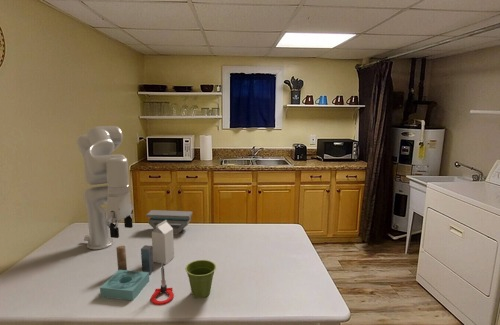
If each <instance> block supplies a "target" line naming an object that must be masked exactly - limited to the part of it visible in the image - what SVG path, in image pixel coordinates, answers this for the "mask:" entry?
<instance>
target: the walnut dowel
mask: <svg viewBox="0 0 500 325" xmlns="http://www.w3.org/2000/svg"><path fill="white" fill-rule="evenodd" d="M115 250H116V260H117V262H116V263H117V271H118V270H128V268H127V253H126V252H127V251H126V246H125V245H119V246H117V247H116V248H115Z"/></svg>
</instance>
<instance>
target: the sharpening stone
mask: <svg viewBox="0 0 500 325" xmlns="http://www.w3.org/2000/svg"><path fill="white" fill-rule="evenodd" d="M192 216H193V211H191V210H190V211H189V210H188V211H185V210H183V211H182V210H161V209H160V210H159V209H158V210H157V209H156V210H155V209H151V210H150V211H149V212H148V213H146V218H149V219H148V224H149V226H150V227H152V228H153V230H155V229H156V226H157V225H158V224H160V223H162V222H163V221H165V220H167V223H168V224H169V225H170V226H171V227H172V228H173V234H176V235H177V234H180V233H181V232H182V230H183V229H186V227H187V226H188V225H189V223H190V222H191V220H192Z"/></svg>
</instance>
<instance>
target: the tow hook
mask: <svg viewBox="0 0 500 325" xmlns="http://www.w3.org/2000/svg"><path fill="white" fill-rule="evenodd" d="M160 264H161V265H160V266H161V267H160V272H161V274H160V275H161V280H160V282H161V283H160V288H155V289H154V293H152V294H151V297H150V301H151V303H152V304H153V305H156V306H162V305H163V306H164V305H166V304H168V303H170V302H171V301H173V300H174V297H175V296H174V292H173V287H168V286H167V283H166V275H165V267H164V264H163V262H162V263H160ZM161 293H165V294H167V295H169V297H168V298H167V299H165V300H158V299H156V298H157V296H159V295H161Z"/></svg>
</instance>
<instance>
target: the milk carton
mask: <svg viewBox="0 0 500 325" xmlns="http://www.w3.org/2000/svg"><path fill="white" fill-rule="evenodd" d="M151 246H152V247H153V263H159V264H161V263H162V262H163V265H167V264H168V263H169V262H171V260H173V259H174V258H175V248H174V233H173V228H172V227H171V226H170V225H169V224H168V223H167V220H165V221H163V222H162V223H160V224H158V225H157V226H156V229H153V230H152V231H151Z"/></svg>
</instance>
